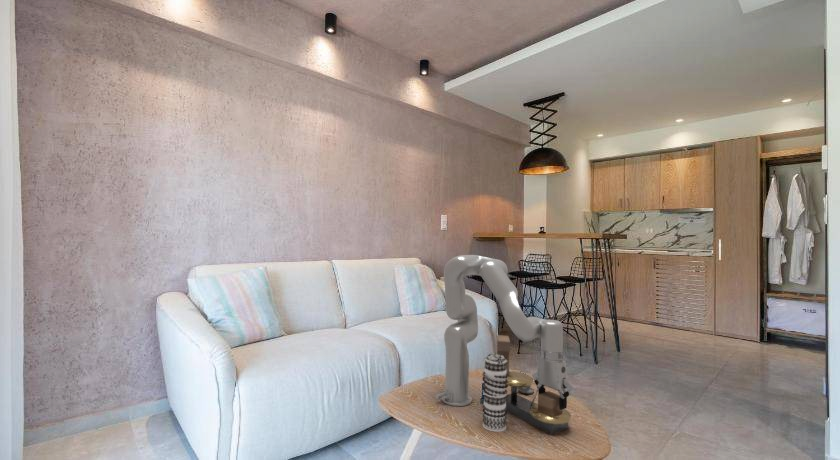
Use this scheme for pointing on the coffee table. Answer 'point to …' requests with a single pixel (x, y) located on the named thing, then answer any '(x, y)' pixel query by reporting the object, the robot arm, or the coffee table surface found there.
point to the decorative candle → (495, 393)
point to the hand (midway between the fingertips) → (552, 403)
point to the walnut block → (549, 404)
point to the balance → (532, 406)
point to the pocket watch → (525, 388)
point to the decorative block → (504, 348)
